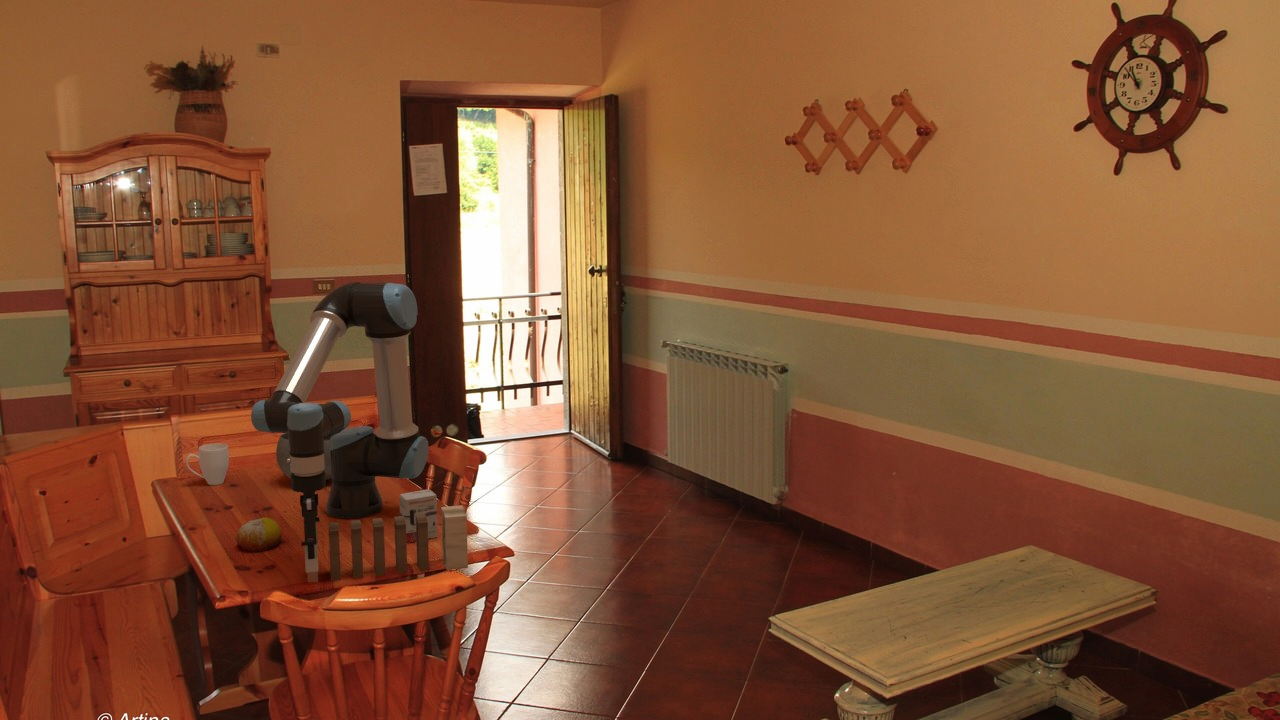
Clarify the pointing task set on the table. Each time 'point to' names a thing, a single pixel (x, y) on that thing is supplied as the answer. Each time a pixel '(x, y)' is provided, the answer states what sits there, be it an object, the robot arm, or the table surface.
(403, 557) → the domino
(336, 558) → the domino
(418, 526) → the domino
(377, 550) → the domino
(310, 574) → the domino
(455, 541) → the bookend block
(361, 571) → the domino
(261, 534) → the fruit
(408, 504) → the ink box
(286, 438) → the bowl
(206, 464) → the mug
